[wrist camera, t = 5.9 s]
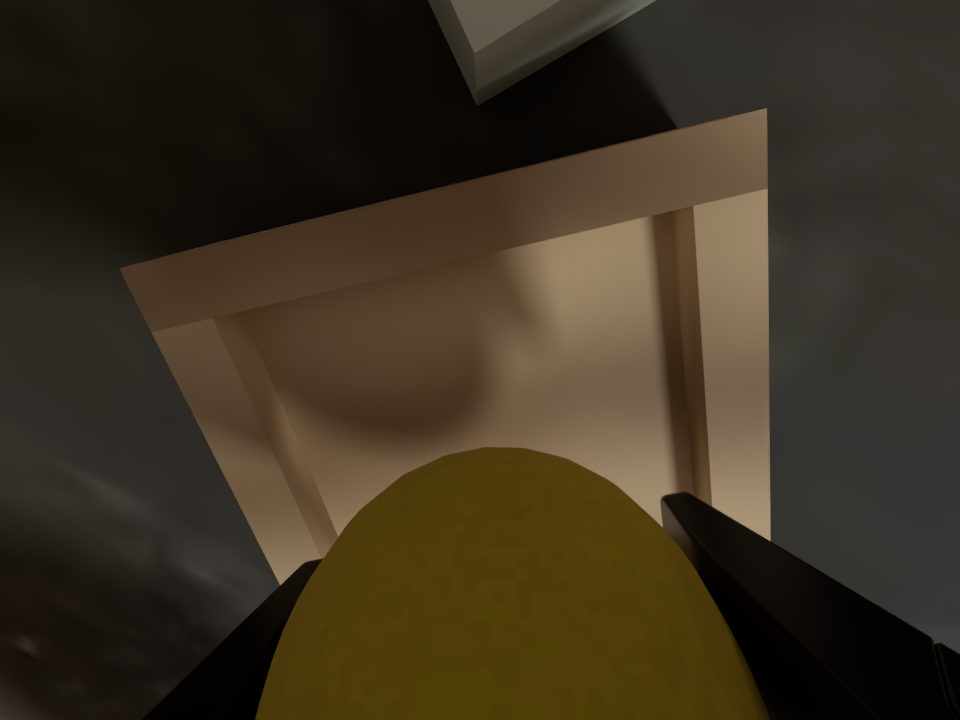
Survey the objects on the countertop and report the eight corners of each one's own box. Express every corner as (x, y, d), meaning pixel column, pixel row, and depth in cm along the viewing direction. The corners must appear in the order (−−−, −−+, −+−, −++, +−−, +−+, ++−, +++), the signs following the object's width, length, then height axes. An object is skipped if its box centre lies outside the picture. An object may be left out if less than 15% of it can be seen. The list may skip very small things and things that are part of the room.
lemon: (559, 625, 11) (739, 1640, 3) (322, 552, 10) (-138, 1658, 3) (689, 428, 9) (1759, 1720, 1) (411, 319, 8) (-343, 1893, 1)
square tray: (705, 516, 15) (771, 616, 11) (363, 578, 15) (331, 686, 12) (678, 128, 11) (766, 108, 7) (221, 241, 12) (118, 267, 8)
